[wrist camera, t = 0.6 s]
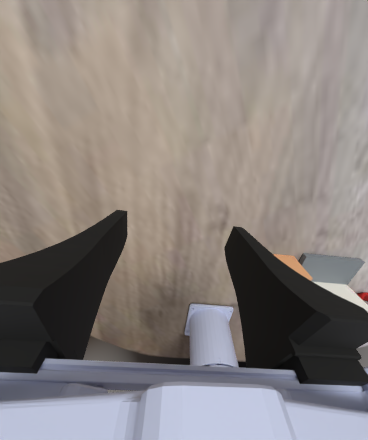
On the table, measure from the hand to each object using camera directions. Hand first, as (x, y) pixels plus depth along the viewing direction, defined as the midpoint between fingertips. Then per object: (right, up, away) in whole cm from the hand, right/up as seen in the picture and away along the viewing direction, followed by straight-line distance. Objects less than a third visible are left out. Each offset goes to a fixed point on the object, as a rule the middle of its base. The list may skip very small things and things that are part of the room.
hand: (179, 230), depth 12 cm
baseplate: (+22, -11, +17) cm, 30 cm away
